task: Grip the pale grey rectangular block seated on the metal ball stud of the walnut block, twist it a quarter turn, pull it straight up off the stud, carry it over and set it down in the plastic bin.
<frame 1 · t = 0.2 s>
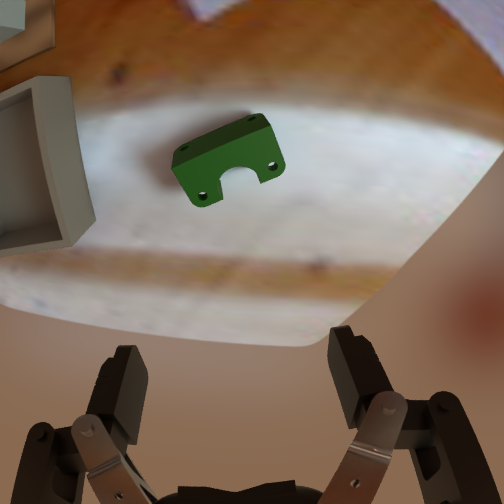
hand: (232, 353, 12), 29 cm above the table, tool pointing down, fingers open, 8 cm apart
stud block: (15, 22, 24), on the table
clamp: (228, 155, 37), on the table
pale grey rectangular block: (11, 22, 23), point 1 cm above the table, touching stud block
bin: (29, 163, 34), on the table
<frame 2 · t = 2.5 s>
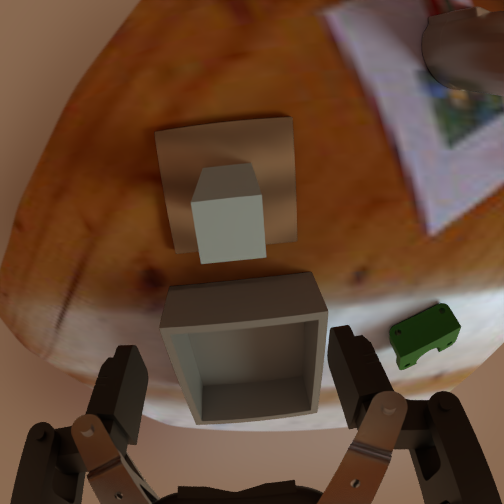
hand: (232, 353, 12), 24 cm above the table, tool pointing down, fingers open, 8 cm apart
stud block: (229, 185, 34), on the table
clamp: (416, 326, 47), on the table
pale grey rectangular block: (229, 188, 33), point 1 cm above the table, touching stud block
bin: (247, 338, 44), on the table
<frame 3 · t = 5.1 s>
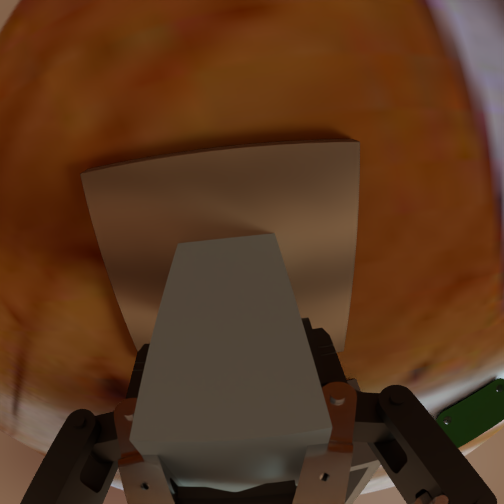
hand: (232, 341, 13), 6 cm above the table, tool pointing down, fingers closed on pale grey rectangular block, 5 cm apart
stud block: (231, 269, 18), on the table
clamp: (465, 404, 31), on the table
pale grey rectangular block: (231, 279, 17), point 1 cm above the table, touching gripper, stud block
bin: (257, 446, 29), on the table
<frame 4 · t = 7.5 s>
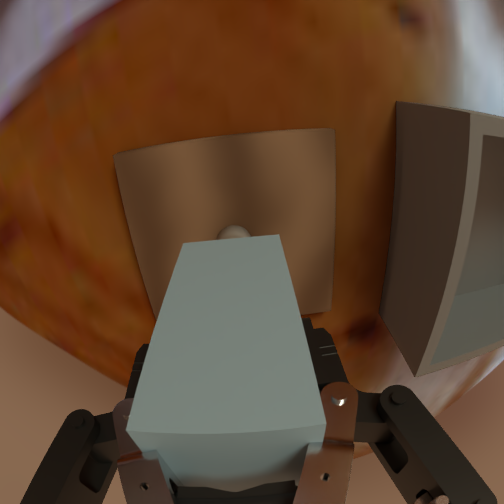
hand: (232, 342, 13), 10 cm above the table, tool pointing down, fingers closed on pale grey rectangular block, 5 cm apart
stud block: (233, 235, 22), on the table
pale grey rectangular block: (235, 279, 18), point 5 cm above the table, touching gripper
bin: (481, 213, 23), on the table
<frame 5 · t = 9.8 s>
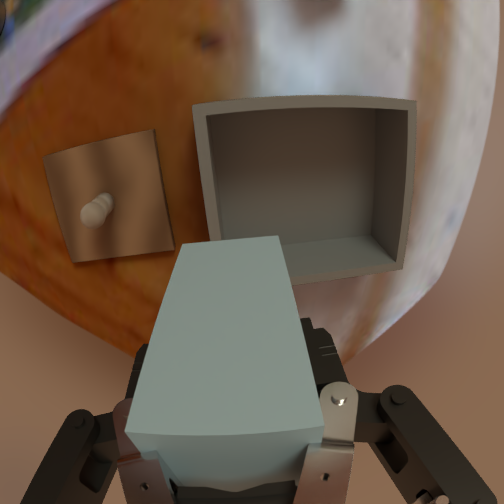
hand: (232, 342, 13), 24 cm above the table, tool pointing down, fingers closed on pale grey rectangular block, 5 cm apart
stud block: (107, 199, 34), on the table
pale grey rectangular block: (235, 280, 18), point 19 cm above the table, touching gripper
bin: (298, 175, 35), on the table
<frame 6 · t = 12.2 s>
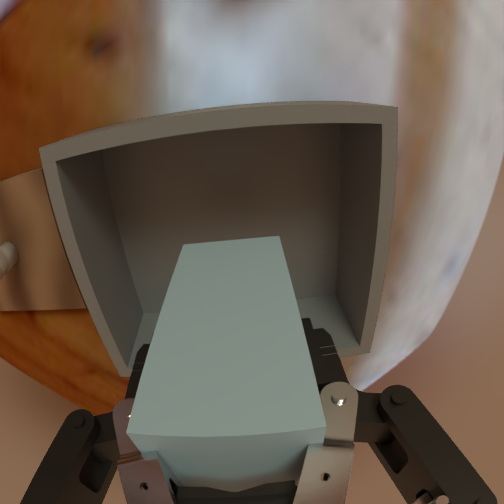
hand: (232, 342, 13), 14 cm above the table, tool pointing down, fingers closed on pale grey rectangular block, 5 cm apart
stud block: (14, 248, 25), on the table
pale grey rectangular block: (235, 281, 18), point 9 cm above the table, touching gripper
bin: (228, 219, 26), on the table
when the fingers open (7 cm above the table, at t = 14.4 s): pale grey rectangular block drops 1 cm, resting on bin.
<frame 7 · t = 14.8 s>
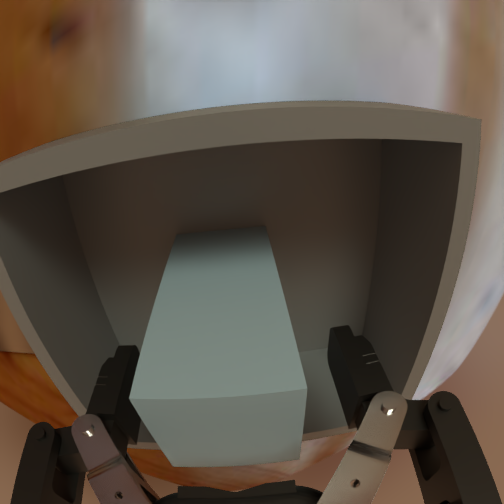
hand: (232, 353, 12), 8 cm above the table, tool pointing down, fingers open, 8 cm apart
pale grey rectangular block: (225, 268, 19), point 1 cm above the table, touching bin
bin: (230, 257, 20), on the table
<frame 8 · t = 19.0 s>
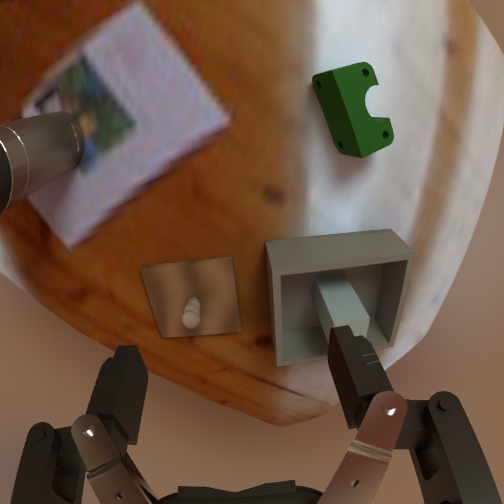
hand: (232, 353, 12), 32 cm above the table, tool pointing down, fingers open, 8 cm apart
stud block: (193, 299, 50), on the table
clamp: (346, 106, 38), on the table
pale grey rectangular block: (329, 289, 50), point 1 cm above the table, touching bin
bin: (329, 284, 50), on the table
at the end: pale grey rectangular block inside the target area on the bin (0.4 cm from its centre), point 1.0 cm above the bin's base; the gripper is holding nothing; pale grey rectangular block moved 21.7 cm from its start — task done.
